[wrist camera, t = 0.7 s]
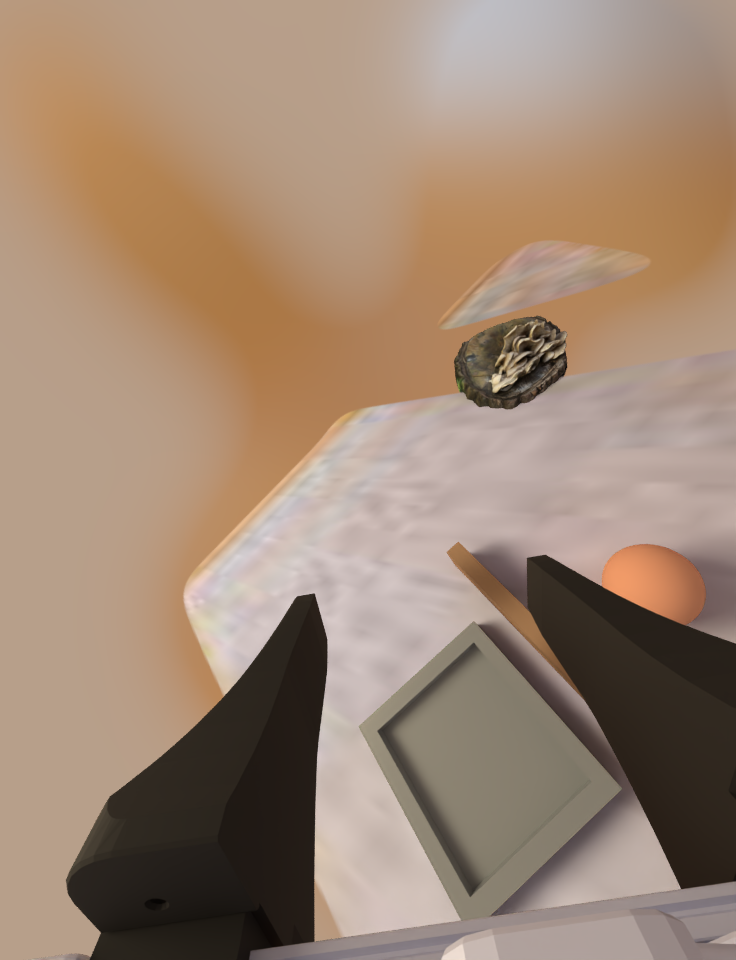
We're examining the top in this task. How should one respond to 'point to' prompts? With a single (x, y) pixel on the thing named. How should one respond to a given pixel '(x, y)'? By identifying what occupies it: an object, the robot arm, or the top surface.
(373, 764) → the top surface
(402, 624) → the top surface
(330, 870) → the top surface
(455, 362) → the log
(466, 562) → the wooden plank
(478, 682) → the tray
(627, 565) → the ball
